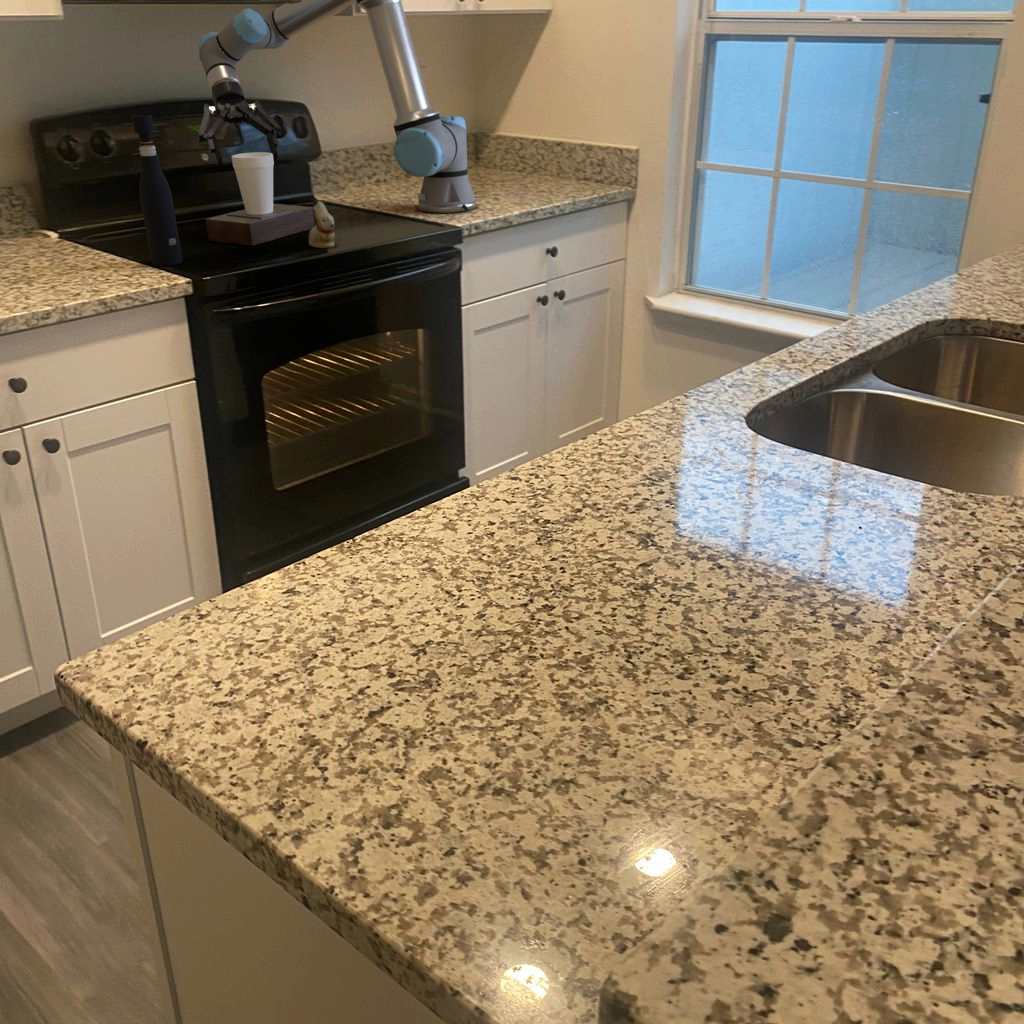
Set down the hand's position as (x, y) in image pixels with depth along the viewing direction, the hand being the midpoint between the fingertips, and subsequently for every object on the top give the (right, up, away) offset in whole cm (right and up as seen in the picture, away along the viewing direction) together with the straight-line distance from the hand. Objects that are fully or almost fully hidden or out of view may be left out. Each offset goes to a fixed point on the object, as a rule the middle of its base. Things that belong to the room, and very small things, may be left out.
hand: (248, 159), depth 251 cm
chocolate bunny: (+21, -25, -16) cm, 37 cm away
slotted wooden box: (+4, -19, -3) cm, 20 cm away
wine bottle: (-10, -32, -28) cm, 44 cm away
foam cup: (+4, -14, -5) cm, 16 cm away
